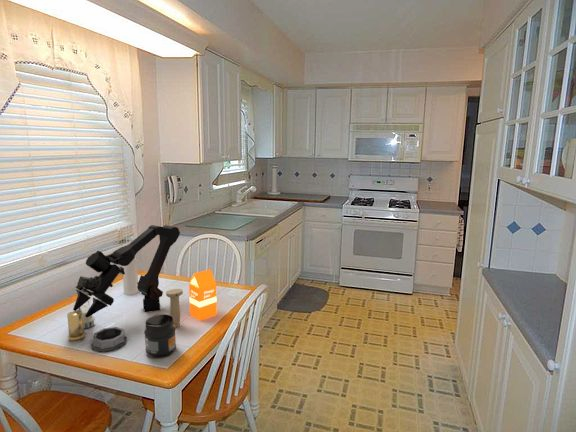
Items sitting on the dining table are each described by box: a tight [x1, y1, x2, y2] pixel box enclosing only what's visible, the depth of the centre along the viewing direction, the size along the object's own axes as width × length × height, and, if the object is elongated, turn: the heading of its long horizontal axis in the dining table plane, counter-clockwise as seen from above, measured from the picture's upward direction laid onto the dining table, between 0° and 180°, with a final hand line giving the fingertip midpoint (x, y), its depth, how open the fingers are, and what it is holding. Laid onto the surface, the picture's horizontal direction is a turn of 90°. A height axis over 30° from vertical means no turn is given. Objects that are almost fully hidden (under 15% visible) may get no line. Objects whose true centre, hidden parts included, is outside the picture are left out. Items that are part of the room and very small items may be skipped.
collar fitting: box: [90, 326, 128, 353], centre depth 139 cm, size 12×12×4 cm
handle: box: [165, 288, 184, 328], centre depth 153 cm, size 5×6×15 cm
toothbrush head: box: [79, 300, 95, 329], centre depth 160 cm, size 5×7×25 cm
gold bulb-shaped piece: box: [66, 310, 86, 343], centre depth 142 cm, size 6×6×10 cm
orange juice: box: [188, 269, 218, 322], centre depth 163 cm, size 8×9×20 cm
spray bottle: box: [121, 254, 139, 296], centre depth 185 cm, size 7×7×25 cm
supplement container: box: [143, 313, 177, 359], centre depth 134 cm, size 10×10×12 cm
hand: (80, 313), depth 143 cm, fingers open, 9 cm apart
